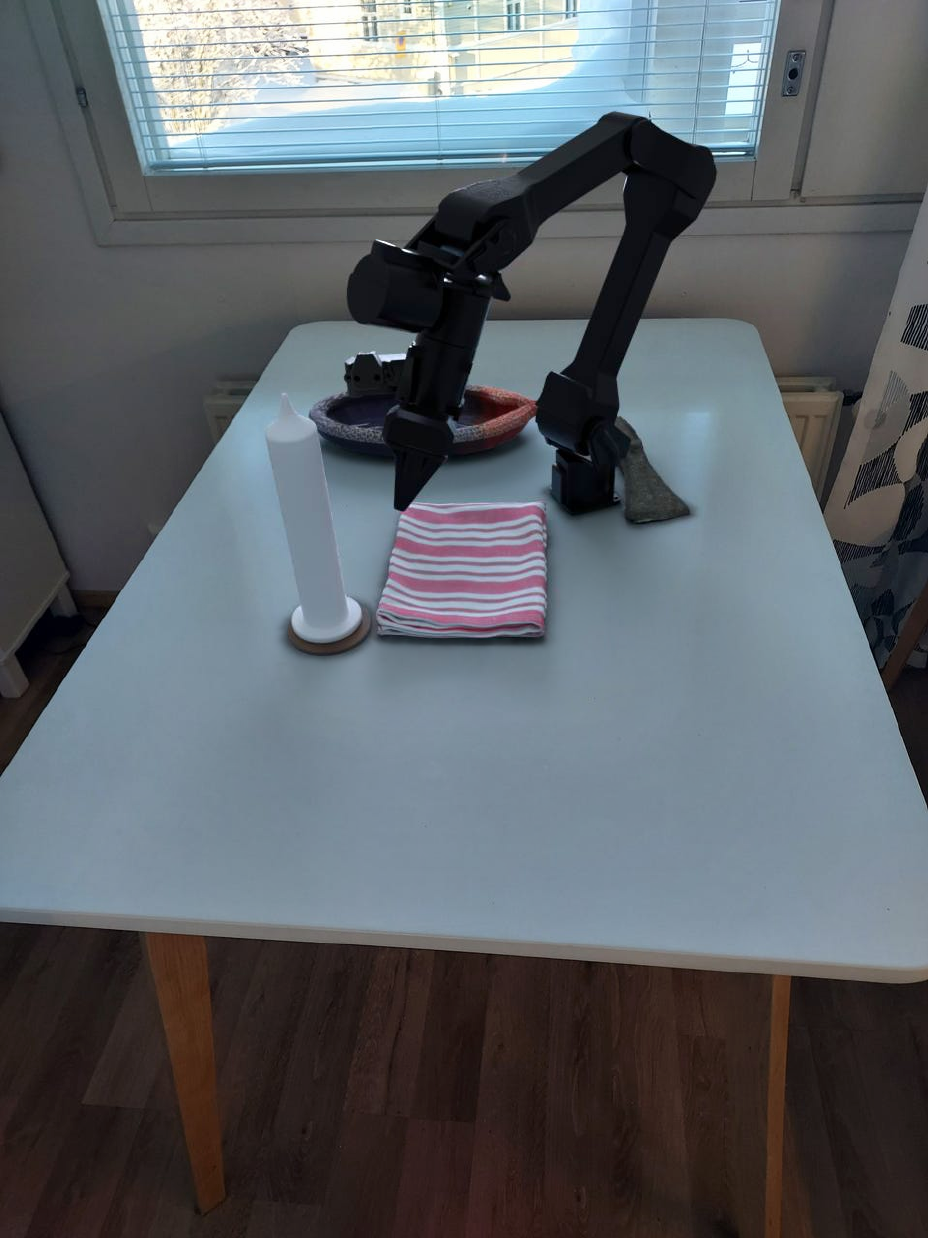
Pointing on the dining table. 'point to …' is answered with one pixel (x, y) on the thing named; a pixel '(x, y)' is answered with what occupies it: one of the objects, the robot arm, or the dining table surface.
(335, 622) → the candle
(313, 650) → the coaster
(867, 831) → the dining table surface
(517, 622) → the dish towel
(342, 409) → the dish
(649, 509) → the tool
